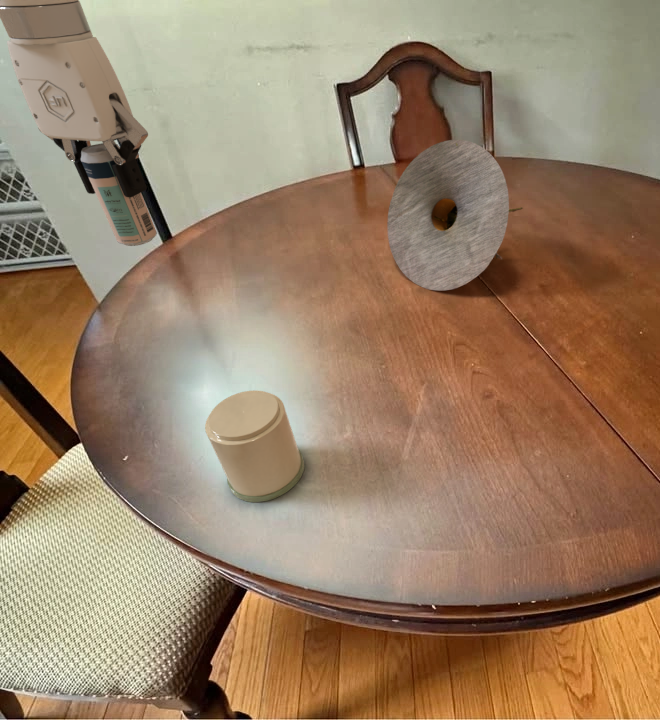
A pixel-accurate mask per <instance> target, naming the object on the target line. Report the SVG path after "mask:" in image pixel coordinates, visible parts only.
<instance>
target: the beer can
mask: <svg viewBox="0 0 660 720" xmlns="http://www.w3.org/2000/svg"><path fill="white" fill-rule="evenodd" d="M116 145H117V146H118V148H119V149H120V147H121V146H119V144H118V143H116ZM81 162H82V164H83V166H84V168H85V171H86V173H87V175H88V177H89V180H90V182H91V184H92V186H93V188H94V191H95V195H96V198H97V200H98V202H99V204H100V206H101V208H102V210H103V213H104V216H105V218H106V220H107V222H108V224H109V227H110V228H111V230H112V233H113V235H114V237H115V240H116V241H117V243H119V244H121V245H125V246H127V247H136V246H142V245H145V244H148V243H150V242H151V241H153V239H154V238H155V237H156V236H157V234H158V232H157V230H156V227H155V224H154V222H153V219H152V216H151V215H150V212H149V209H148V207H147V204H146V202H145V199H144V196H143V194H142V192H141V193H139V194H137V195H135V196H133V197H131V198H130V197H126V196H125V195H124V194H123V191H122V189H121V187H120V184H119V182H118V179H117V177H116V175H115V172H114V170H113V167H112V165H114V164H116V163H115V161H114V160H113V158H112V157H111V155H110V154H109V152H108V150H107V149H106V147H105V146H104V144H103V142H101V143H96V144H91V145H90V146H88V147H85V148H83V149H82V151H81Z"/></svg>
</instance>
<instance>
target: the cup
mask: <svg viewBox="0 0 660 720" xmlns="http://www.w3.org/2000/svg"><path fill="white" fill-rule="evenodd" d="M288 416H289V415H288V413H287V410H286V407H285V404H284V402H283V400H281V399H280V397H279V396H277V395H275V394H273V393H271V392H267V391H264V390H255V389H254V390H245V391H241V392H238V393H235V394H232V395H230V396H228V397H226V398H224V399H223V400H221V401H220V402H219V403H218V404H216V405H215V407H214V408H213V409H212V410H211V411H210V413H209V414H208V416H207V419H206V421H205V425H204V430H205V433H206V436H207V438H208V441H209V443H210V444H211V446H212V449H213V451H214V453H215V455H216V457H217V460H218V462H219V464H220V466H221V468H222V470H223V473H224V474H225V476H226V482H227V486H228V487H229V490H230V492H231V493H232V494H233V496H235V498H238V499H239V500H241V501H245V502H249V503H261V502H262V503H263V502H267V501H271V500H274V499H276V498H279V497H281V496H283V495H285V494H286V493H288V492H289V491H290V490H292V489H293V487H295V486H296V485H297V484H298V482H299V481H300V480H301V478H302V476H303V474H304V471H305V460H304V457H303V454H302V452H301V450H300V449H299V446H298V444H297V440H296V438H295V435H294V432H293V428H292V425H291V422H290V420H289V417H288Z"/></svg>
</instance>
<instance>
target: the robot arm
mask: <svg viewBox="0 0 660 720" xmlns="http://www.w3.org/2000/svg"><path fill="white" fill-rule="evenodd" d="M0 21H1V23H2V25H3V27H4V29H5V32H6V34H7V35H8V39H9V40H7V41H6V44H7V49H8V53H9V58H10V61H11V65H12V67H13V70H14V74H15V76H16V79H17V83H18V84H19V87H20V90H21V92H22V94H23V97H24V99H25V102H26V104H27V107H28V108H29V111H30V114H31V115H32V118H33V120H34V122H35V124H36V126H37V128H38V130H39V132H40V133H42V134H43V135H45V136H46V137H47V138H48V139H50V140H51V141H53V143H54V144H55V145H56V146H57V147H58V148H60V149H61V150H62V151H63V152H64V155H65V157H66V158H67V160H68V161H70V162H73V165H74V167H75V169H76V171H77V173H78V175H79V177H80V180H81V182H82V184H83V186H84V188H85V190H86V191H85V192H87V194H88V195H89V194H90V195H96V193H95V191H94V188H93V186H92V184H91V182H90V180H89V177H88V175H87V173H86V171H85V168H84V166H83V164H82V162H81V151H82V149H83V148H85V147H88V146H90V145H92V144H91V143H92V142H101V143H103V144H104V146H105V147H106V149H107V150H108V152H109V154H110V155H111V157H112V158H113V160H114V161H115V163H116V164H114V165H112V167H113V170H114V172H115V175H116V177H117V179H118V182H119V184H120V187H121V189H122V191H123V194H124V195H125V196H126V197H130V198H131V197H133V196H135V195H137V194H139V193H141V194H142V193H143V192H145V191H147V184H146V182H145V179H144V176H143V174H142V171H141V169H140V166H139V162H138V161H137V159H138V158H139V157H140V153H139V152H140V150H141V148H142V145H143V143H144V142H145V141H146V139H147V138H148V137H149V133H148V130H147V129H146V128H145V127H144V126H143V125H142V124H141V123H140V122H139V121H138V120H137V119H136V118H135V117H134V115H133V111H132V109H131V106H130V104H129V101H128V98H127V95H126V94H125V90H124V89H123V86H122V83H120V80H119V78H118V76H117V74H116V72H115V69H114V67H113V65H112V63H111V61H110V59H109V58H108V56H107V54H106V52H105V50H104V48H103V47H102V45H101V43H100V42H99V40H98V38H97V37H96V36H94V35H93V33H92V29H91V27H90V25H89V21H88V20H87V16H86V13H85V12H84V9H83V6H82V4H81V1H80V0H0ZM117 140H118V141H119V143H120V146H119V145H118V146H119V147H120V149H119V148H118V146H117V145H116V144H117V143H116V142H115V141H117Z"/></svg>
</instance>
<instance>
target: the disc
mask: <svg viewBox="0 0 660 720" xmlns="http://www.w3.org/2000/svg"><path fill="white" fill-rule="evenodd" d="M509 197H510V196H509V189H508V184H507V181H506V177H505V174H504V172H503V170H502V168H501V166H500V165H499V163H498V161H497V160H496V159H495V157H494V156H493V155H492V154H491V153H490V152H489V151H487V149H485V148H484V147H482V146H481V145H479V144H477V143H475V142H472V141H470V140H464V139H450V140H449V139H448V140H444V141H440V142H438V143H436V144H435V143H434V144H433V145H431V146H429V147H428V148H426V149H424V150H423V151H421V152H420V153H419V154H418V155H416V157H414V158H413V159H412V161H410V163H408V165H407V166H406V168H405V169H404V170H403V172H402V174H401V175H400V177H399V179H398V181H397V183H396V185H395V187H394V190H393V192H392V197H391V199H390V201H389V202H390V203H389V207H388V212H387V238H388V239H387V240H388V244H389V249H390V252H391V255H392V258H393V260H394V261H395V263H396V265H397V266H398V268H399V270H400V271H401V272H402V274H403V275H404V276H405V277H406V278H407V279H408V280H409V281H411V282H412V283H413V284H416V286H419V287H421V288H423V289H426V290H431V291H439V292H441V291H450V290H455V289H458V288H460V287H462V286H464V285H467V284H468V283H469V282H471V281H473V280H474V279H476V278H477V277H478V276H479V275H480V274H482V273H483V272H484V271H485V270H486V269H487V268H488V266H489V265H490V263H491V262H492V260H493V258H495V259H499V260H502V261H503V260H504V258H503V256H501V255H500V254H499V253H498V251H499V249H500V247H501V245H502V243H503V240H504V238H505V234H506V231H507V227H508V221H509V213H514V212H517V211H520V210H523V209H524V208H523V207H521V206H520V207H518V208H511V209H510V198H509Z"/></svg>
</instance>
